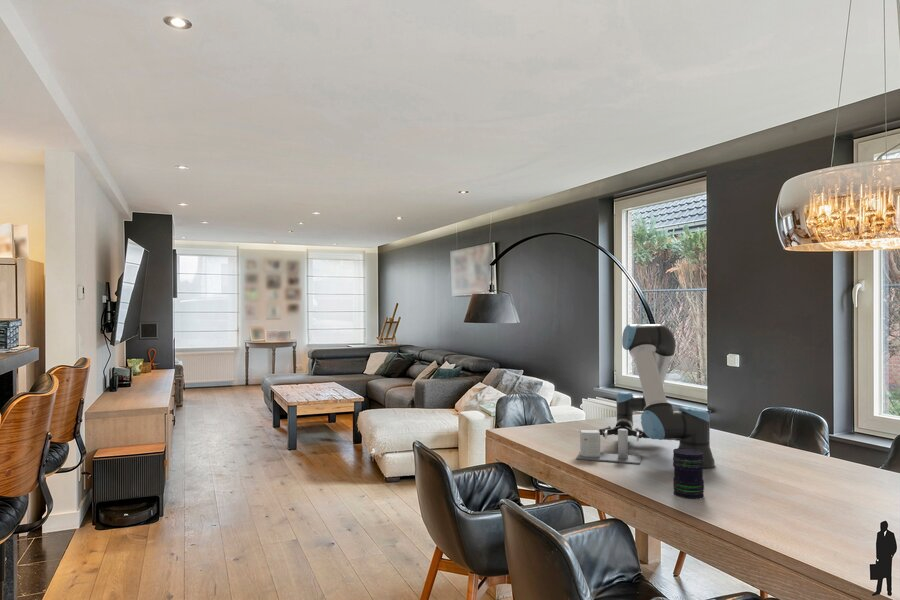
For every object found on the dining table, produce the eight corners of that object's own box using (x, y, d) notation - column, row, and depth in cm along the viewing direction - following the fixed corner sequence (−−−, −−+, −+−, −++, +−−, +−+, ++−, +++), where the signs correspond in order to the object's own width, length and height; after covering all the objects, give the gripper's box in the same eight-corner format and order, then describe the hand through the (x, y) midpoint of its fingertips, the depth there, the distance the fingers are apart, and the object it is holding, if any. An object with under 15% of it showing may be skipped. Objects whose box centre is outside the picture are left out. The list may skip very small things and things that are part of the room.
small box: (598, 454, 255) (598, 430, 255) (600, 457, 249) (600, 432, 249) (580, 453, 255) (579, 429, 256) (581, 456, 250) (581, 432, 250)
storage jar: (685, 500, 194) (685, 455, 194) (667, 491, 203) (666, 449, 203) (710, 497, 196) (710, 453, 197) (690, 489, 206) (690, 447, 206)
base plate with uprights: (640, 457, 251) (640, 428, 251) (639, 464, 240) (639, 433, 240) (579, 452, 259) (579, 424, 260) (576, 459, 248) (576, 429, 248)
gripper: (651, 437, 269) (651, 447, 249) (596, 434, 278) (592, 443, 258) (651, 421, 270) (651, 430, 250) (596, 418, 278) (592, 426, 258)
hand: (621, 437), depth 254 cm, fingers open, 13 cm apart
